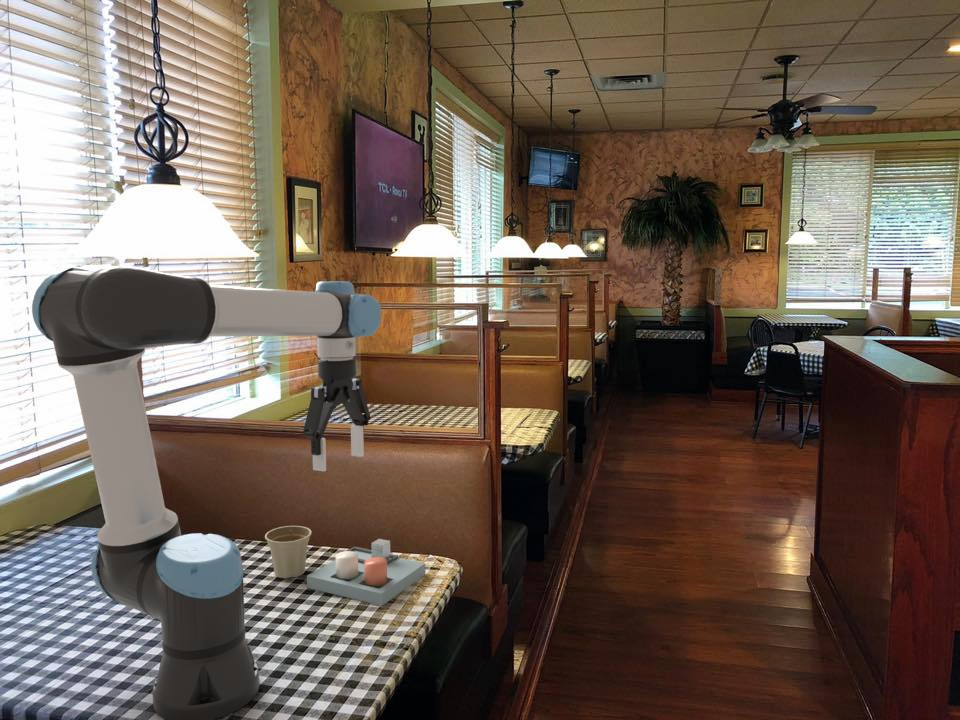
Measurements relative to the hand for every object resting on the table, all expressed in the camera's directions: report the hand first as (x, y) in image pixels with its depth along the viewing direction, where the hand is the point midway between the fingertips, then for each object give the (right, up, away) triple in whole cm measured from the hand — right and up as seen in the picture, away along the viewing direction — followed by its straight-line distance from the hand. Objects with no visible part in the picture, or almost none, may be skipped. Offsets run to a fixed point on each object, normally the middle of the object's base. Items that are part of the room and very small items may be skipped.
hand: (339, 463), depth 152 cm
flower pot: (-11, -24, +4) cm, 27 cm away
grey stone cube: (+8, -21, +4) cm, 23 cm away
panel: (+6, -24, 0) cm, 25 cm away
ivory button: (+2, -22, -3) cm, 22 cm away
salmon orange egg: (+8, -22, -6) cm, 25 cm away
